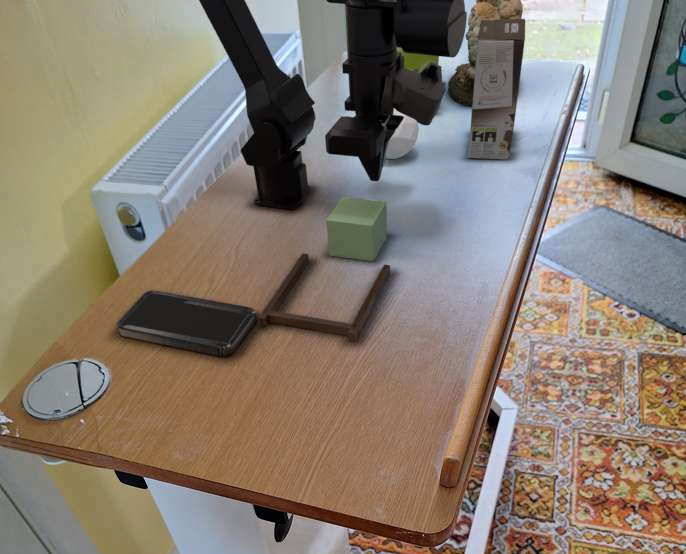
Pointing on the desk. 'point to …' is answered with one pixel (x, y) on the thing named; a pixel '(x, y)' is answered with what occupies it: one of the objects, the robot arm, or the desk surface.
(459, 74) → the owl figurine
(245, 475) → the desk surface
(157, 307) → the phone
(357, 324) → the bay
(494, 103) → the coffee box
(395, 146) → the geometric ball
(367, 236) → the block
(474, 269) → the desk surface
